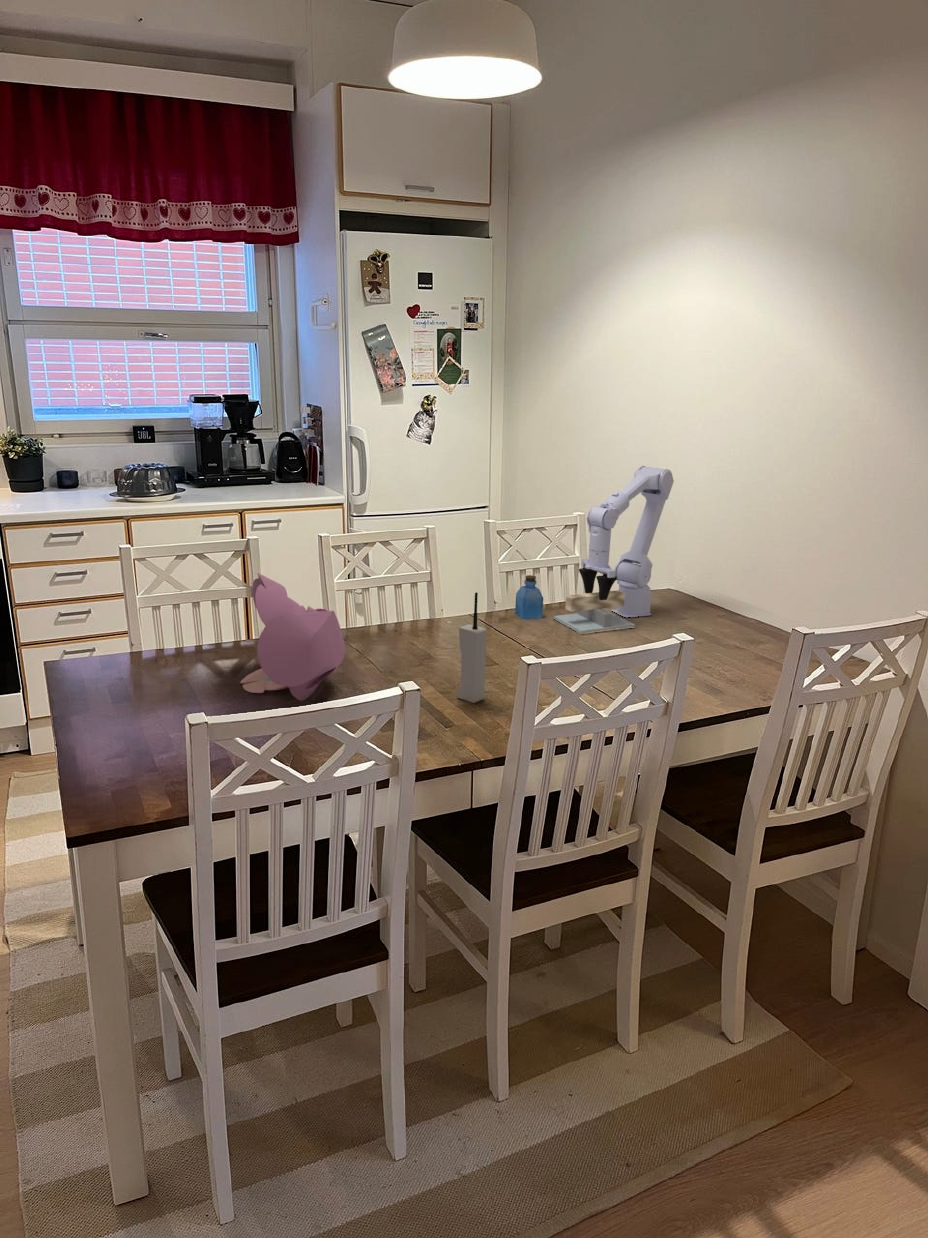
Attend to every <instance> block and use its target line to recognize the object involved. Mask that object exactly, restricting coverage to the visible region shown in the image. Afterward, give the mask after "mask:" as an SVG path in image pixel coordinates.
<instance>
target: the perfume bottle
mask: <svg viewBox="0 0 928 1238" xmlns="http://www.w3.org/2000/svg"><path fill="white" fill-rule="evenodd" d="M536 578H537V576H536V575H533V574H531V575H525V579H524V584H523V586H522V585H521V586H520V587H519V589H518V590H517V592H515V609H514V610H515V611H514V614H515V615H516V614H517V615H518V616H517V615H516V616H517V617H519V618H520V619H521V620H522V619H525V620H537V619H536V618H541V619H543V611H544V596H543V595H542V592H541V590H540V589H539V588H538V587H537V586H536V585H537V580H536ZM524 585H525V586H524Z"/></svg>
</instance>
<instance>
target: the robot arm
mask: <svg viewBox="0 0 928 1238" xmlns="http://www.w3.org/2000/svg"><path fill="white" fill-rule="evenodd" d="M673 476H674V475H673V473H672V471H671V469H669V468H668V469H667V468H666V469H665V468H658V467H650V466H645V465H641V466H639V467H638V468H637V469H636V470H635V471H634V474H633V478H632V479H631V480H630V481H629V483H627V485H626V486H625V487H624V488H623V489H622V490H621V491H613V492H612V494H611V496H610V495H609V497H608V498H607V499H606V500H605V501H603V502H602V504H600V505H599V506H594V507H592V508H590V510H589V511H588V514H587V516H586V523H587V525H588V532H589V544H588V545H589V547H588V549H589V550H588V558H586V559H581V567H582V568H579V569H578V572H579V574H580V576H581V579H582V582H583V583H582V584H583V589H584V594H586V593H594V592H593V591H594V587H595V582H596V581H597V585H598V592H599V599H600V600H607V598H608V595H609V592H610V591H611V589H612V587H613V586H614V583H615V582H616V584H618V590H620V591H622V592H625V602H624V606H621V607H616V608H612V609H611V610H610V612H612V611H613V612H612V613H614V612H615V613H614V614H616V613H617V614H616V615H618V614H619V616H620V615H621V616H620V617H622V616H623V618H624V617H626V618H625V619H629V618H628V617H631V618H638V616H639V617H646V616H652V613H651V604H652V590H651V587H650V586H649V585H648V583H649V582H650V580H651V578H652V568H653V563H652V562H651V560H650V559H649V556H648V555H649V554H648V553H649V551H650V548H651V545H652V542H653V539H654V538H655V533H656V532H657V531H656V530H657V528H658V525H659V522H660V520H661V516H662V514H663V513H662V512H663V510H664V506H665V504H666V501H667V500H669V498H670V493H671V490H672V488H673V484H674V477H673ZM639 494H641V495H642V496H643V497H644V498H645V500H646V502H645V506H644V508H643V510H642V514H641V517H640V520H639V523H638V526H637V529H636V531H635V535H634V538H633V541H632V544H631V546H630V549H629V551H627V552H624V553H623V554H621V556H620V558H619V560H618V562H617V563H616V565H615V566H614V569H613V568H612V567H611V566H610V565H609V562H610V561H609V560H610V549H611V533H612V529H613V528H615V527H616V524H617V521H618V520H619V517H620V516H621V515H622V514H623V513H624V512H625V511H626V510H627V509H628V508H629V507H630V501H631V500H633V499H634V498H635V497H636V496H638V495H639ZM598 573H599V574H602V575H598ZM595 580H596V581H595Z"/></svg>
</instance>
